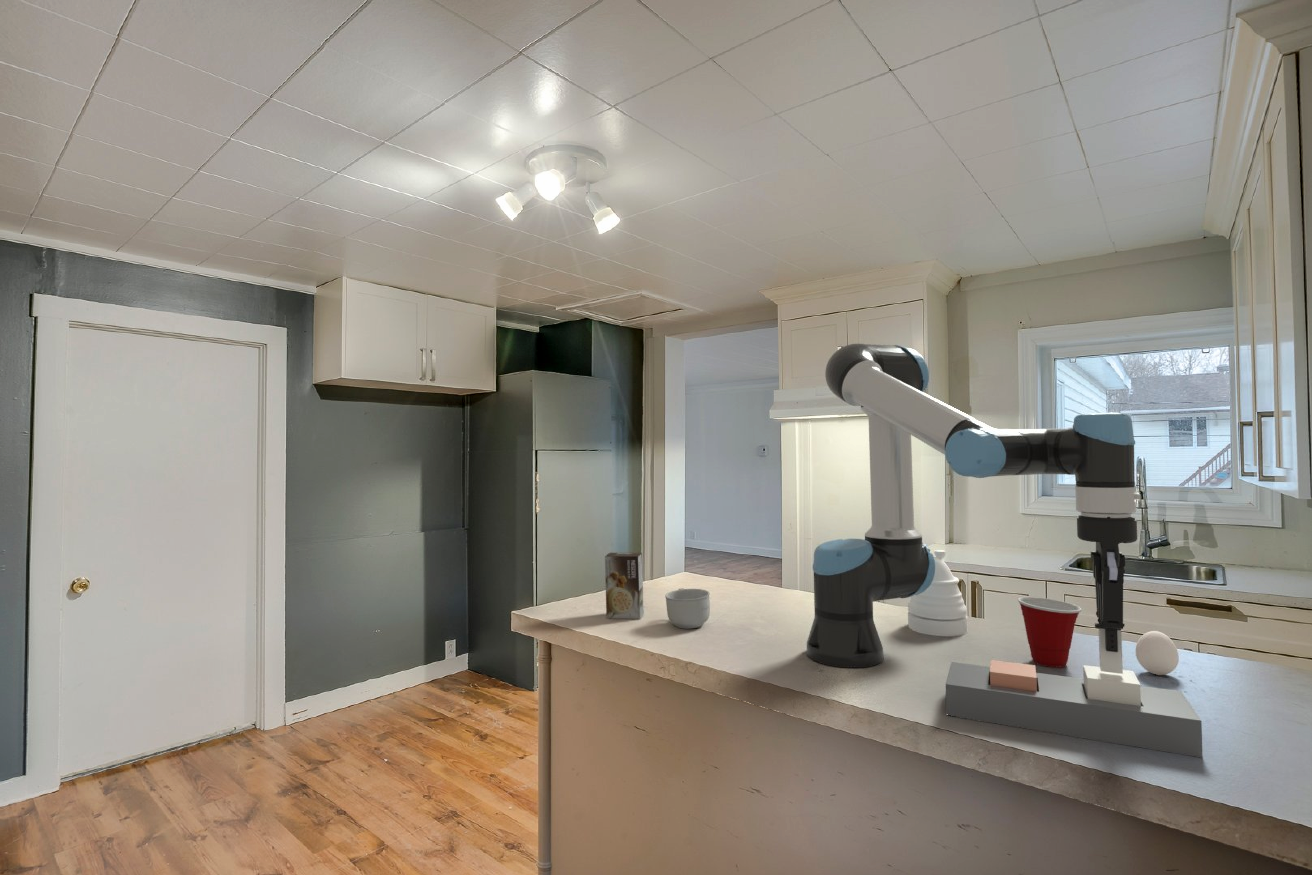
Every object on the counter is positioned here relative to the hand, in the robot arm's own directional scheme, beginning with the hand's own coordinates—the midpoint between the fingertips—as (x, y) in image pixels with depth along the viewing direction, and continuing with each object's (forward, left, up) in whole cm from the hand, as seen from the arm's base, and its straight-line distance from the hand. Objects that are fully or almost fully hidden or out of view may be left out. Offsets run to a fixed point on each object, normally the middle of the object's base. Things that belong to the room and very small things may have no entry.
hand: (1111, 670), depth 99 cm
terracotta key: (-13, 0, -6) cm, 14 cm away
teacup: (-84, +26, -9) cm, 88 cm away
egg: (+10, +31, -9) cm, 34 cm away
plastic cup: (-7, +30, -9) cm, 32 cm away
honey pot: (-29, +47, -9) cm, 56 cm away
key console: (-7, 0, -9) cm, 11 cm away
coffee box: (-102, +26, -9) cm, 105 cm away
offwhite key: (0, 0, -5) cm, 5 cm away
